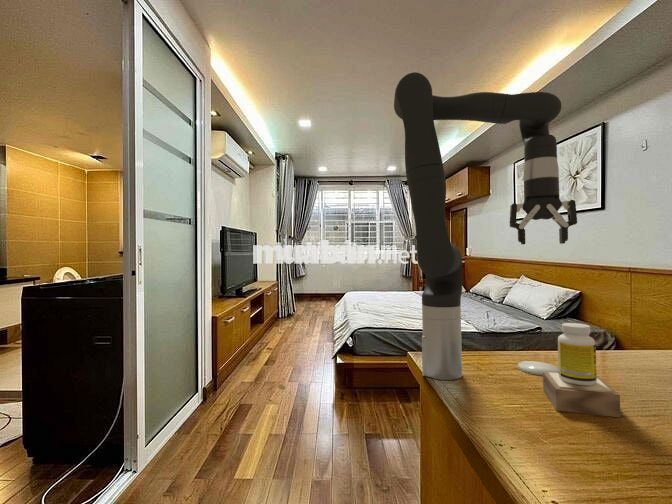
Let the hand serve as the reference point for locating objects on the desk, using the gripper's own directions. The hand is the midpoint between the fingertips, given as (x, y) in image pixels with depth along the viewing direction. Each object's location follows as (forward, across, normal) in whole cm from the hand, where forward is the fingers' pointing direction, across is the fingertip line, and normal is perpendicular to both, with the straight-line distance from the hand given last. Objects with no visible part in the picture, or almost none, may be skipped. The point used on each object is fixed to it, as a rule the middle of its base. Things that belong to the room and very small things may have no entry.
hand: (542, 244), depth 86 cm
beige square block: (+32, +2, -17) cm, 36 cm away
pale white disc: (+32, -1, +2) cm, 32 cm away
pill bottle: (+28, +2, -17) cm, 33 cm away
